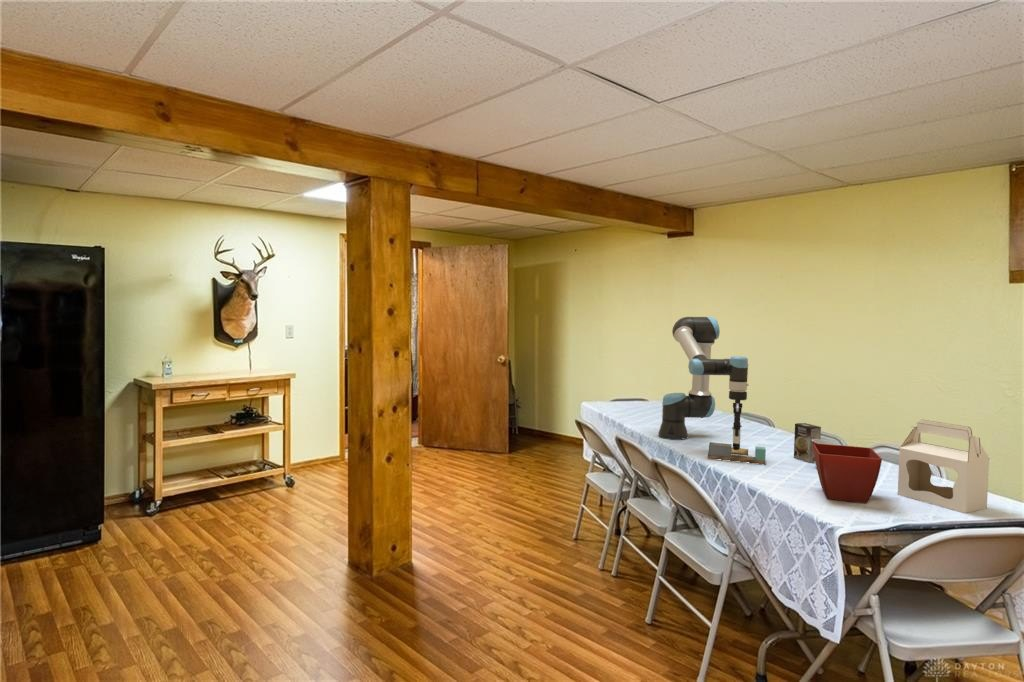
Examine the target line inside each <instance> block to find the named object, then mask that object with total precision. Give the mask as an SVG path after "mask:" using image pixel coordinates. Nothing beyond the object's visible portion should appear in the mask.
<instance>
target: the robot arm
mask: <svg viewBox="0 0 1024 682" xmlns="http://www.w3.org/2000/svg"><path fill="white" fill-rule="evenodd" d="M671 331H672V336H673V339H674V340H675V341H676V342H677V343H679V345H680V347H681V348H682V351H683V352H684V354H685V356H686V357H687V359H688V367H687V368H688V372H689V374H690V375H692V380H691V381H692V382H691V389H690V390H689V391H688V395H686V394H685V392H672V393H667V394H665V395H663V398H662V404H661V405H662V410H661V411H662V414H661V417H662V418H661V419H662V420H661V421H662V422H661V424H660V428H659V430H658V437H659V436H660V438H662V437H663V438H662V439H666V438H670V439H669V440H675V439H681V440H683V439H682V438H687V437H688V435H689V433H688V430H687V426H686V421H685V420H686V418H687V419H688V418H689V419H691V418H692V419H693V418H694V419H695V418H699V419H705V418H710V417H712V416H713V414H714V412H715V409H716V402H715V401H716V400H715V399H716V398H715V397H714V396H713V395H712V392H711V391H710V390H709V389H710V376H729V378H728V379H729V380H728V381H729V383H728V389H729V391H728V399H729V400H733V401H734V402H732V408H733V409H732V412H733V416H734V417H733V419H734V420H733V422H734V427H733V426H732V427H731V429H732V430H733V429H734V433H733V432H732V444H733V443H737V444H740V445H741V428H742V425H741V428H740V423H741V415H742V411H743V410H742V409H743V403H741V401H746V400H747V399H748V392H747V390H748V387H749V386H750V385H749V383H748V375H749V374H748V373H749V372H748V371H749V361H748V360H749V359H748V357H746V356H740V355H739V356H737V355H735V356H733V355H732V356H730V357H729V358H712V357H711V356H712V346H713V345H714V344H715V340H717V339H719V337H720V325H719V322H718V320H717V319H716V318H715V317H713V316H712V317H711V316H684V317H681V318H680V319H678V320H677V321H676V322H675V323H674V324H673V326H672V330H671ZM687 439H688V438H687Z"/></svg>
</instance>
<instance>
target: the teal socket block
mask: <svg viewBox="0 0 1024 682" xmlns="http://www.w3.org/2000/svg"><path fill="white" fill-rule="evenodd" d="M766 452H767V451H766V446H757V445H756V446H755V452H754V453H755V454H754V455H755V456H754V457H755V460H761V461H765V462H766Z"/></svg>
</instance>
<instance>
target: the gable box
mask: <svg viewBox="0 0 1024 682" xmlns="http://www.w3.org/2000/svg"><path fill="white" fill-rule="evenodd" d="M972 431H973V430H972V428H971V427H970V426H965V425H960V424H954V423H946V422H940V421H935V420H929V419H919V420H918V422H916V426H910V433H909V434H908V436H907V437H906V438H905V440H904V441H903V443H902V444H901V446H900V447H899V451H898V453H899V455H898V458H899V459H898V475H897V477H898V478H897V479H898V481H897V495H898V496H901V497H906V498H908V499H909V498H910V499H913V500H916V501H920V502H924V503H927V504H930V505H934V506H937V507H941V508H945V509H948V510H952V511H956V512H959V513H963V514H968V513H972V512H977V511H980V510H984V509H987V508H988V495H989V494H988V492H989V474H990V473H989V471H990V457H989V456H988V454H987V452H986V451H985V449H984V447H983V446H982V444H981V438H980V437H977V436H975V435H973V432H972ZM921 433H923V434H931V435H937V436H940V437H941V436H943V437H946V438H954V439H959V440H963V441H967V442H968V450H962V449H957V448H952V447H949V446H947V447H946V446H942V445H936V444H931V443H927V442H922V440H921V439H922V438H921ZM930 465H931V466H934V467H939V468H940V467H941V468H948V469H952V470H954V471H955V472H956V473H957V478H956V480H955V482H954V483H953V486H952V487H951V486H938V485H934V484H933V483H932V481H931V478H932V470H931V466H930Z"/></svg>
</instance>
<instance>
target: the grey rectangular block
mask: <svg viewBox="0 0 1024 682" xmlns="http://www.w3.org/2000/svg"><path fill="white" fill-rule="evenodd" d="M731 448H733V443H723V442H721V443H720V442H712V441H710V442H709V444H708V452H709V455H711V456H721V457H731V455H732V454H731Z"/></svg>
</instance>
